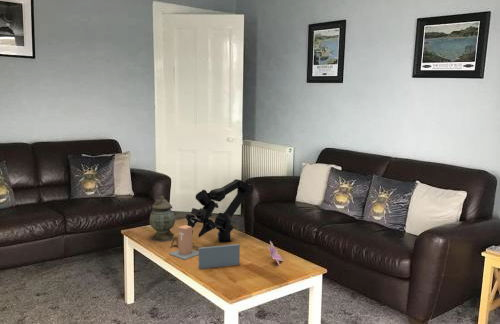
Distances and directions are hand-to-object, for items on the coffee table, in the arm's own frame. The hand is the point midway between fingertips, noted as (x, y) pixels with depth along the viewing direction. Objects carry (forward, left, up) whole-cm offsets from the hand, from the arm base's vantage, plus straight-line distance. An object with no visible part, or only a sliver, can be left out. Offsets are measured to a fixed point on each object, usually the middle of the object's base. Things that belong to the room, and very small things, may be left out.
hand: (192, 234), depth 240 cm
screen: (-9, +24, -9) cm, 27 cm away
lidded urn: (+12, -27, -9) cm, 31 cm away
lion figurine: (+4, -12, -9) cm, 16 cm away
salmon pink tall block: (+4, +3, -8) cm, 10 cm away
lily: (-36, +27, -9) cm, 46 cm away
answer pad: (+4, +3, -9) cm, 11 cm away
